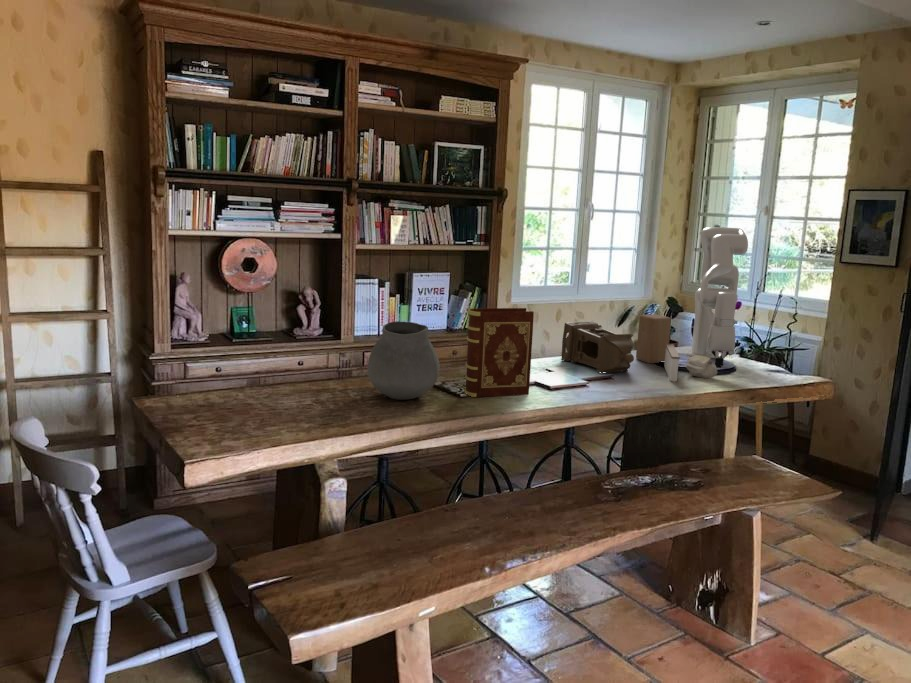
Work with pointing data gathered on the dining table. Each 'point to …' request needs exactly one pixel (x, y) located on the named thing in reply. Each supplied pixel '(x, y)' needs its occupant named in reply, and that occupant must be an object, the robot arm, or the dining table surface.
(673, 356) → the grey board
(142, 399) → the dining table surface
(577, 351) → the brown machine part
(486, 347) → the decorative book
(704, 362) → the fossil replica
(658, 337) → the wooden block
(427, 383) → the ceramic pot
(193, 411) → the dining table surface
